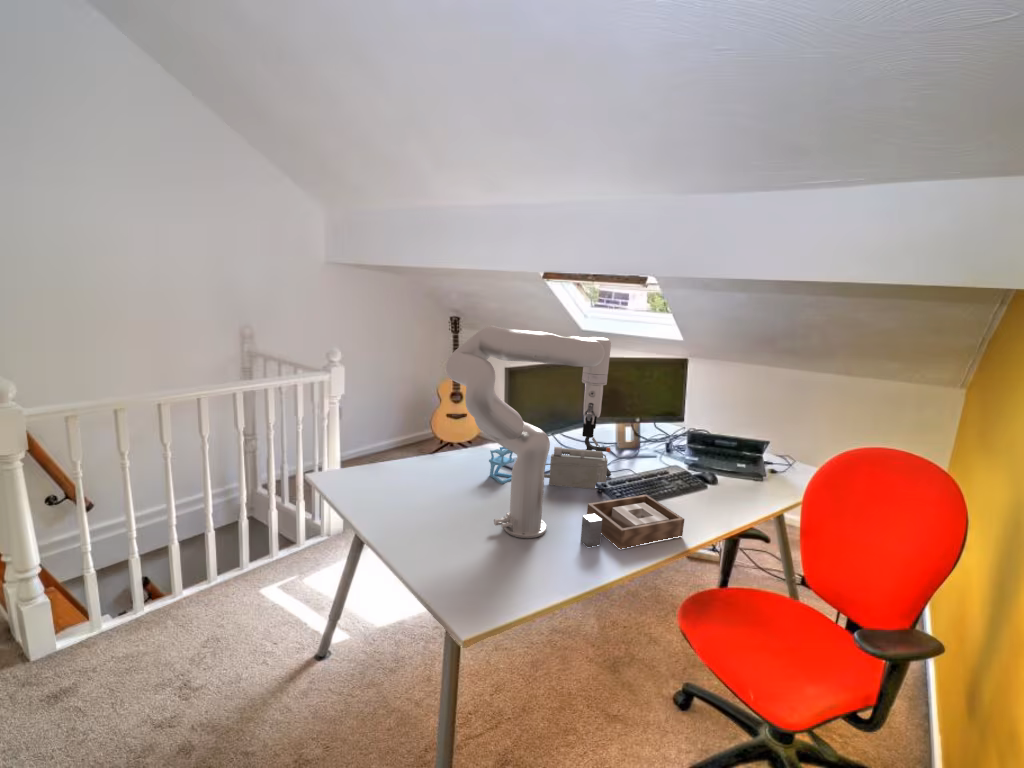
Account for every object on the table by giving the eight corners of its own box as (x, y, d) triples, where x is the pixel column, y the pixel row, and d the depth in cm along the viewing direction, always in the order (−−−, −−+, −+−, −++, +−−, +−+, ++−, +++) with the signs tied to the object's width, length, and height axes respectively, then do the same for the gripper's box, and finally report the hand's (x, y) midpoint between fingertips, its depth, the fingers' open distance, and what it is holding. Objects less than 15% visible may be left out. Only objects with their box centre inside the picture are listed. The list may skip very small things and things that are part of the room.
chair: (498, 472, 206) (500, 441, 203) (516, 478, 200) (517, 447, 198) (485, 477, 200) (486, 446, 197) (502, 484, 195) (503, 452, 192)
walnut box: (619, 550, 153) (621, 530, 152) (586, 521, 169) (587, 503, 168) (682, 537, 162) (684, 519, 161) (644, 511, 178) (646, 494, 177)
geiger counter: (607, 448, 195) (537, 443, 197) (609, 454, 189) (536, 448, 191) (604, 485, 198) (535, 479, 200) (605, 492, 192) (534, 486, 194)
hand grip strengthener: (609, 478, 204) (613, 440, 201) (578, 470, 211) (581, 433, 207) (611, 477, 206) (615, 438, 203) (581, 469, 212) (584, 432, 209)
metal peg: (587, 548, 154) (590, 521, 152) (580, 541, 157) (582, 515, 155) (600, 545, 155) (602, 519, 154) (592, 539, 159) (594, 513, 157)
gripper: (605, 384, 157) (599, 441, 161) (608, 374, 174) (602, 426, 177) (579, 382, 159) (573, 438, 162) (584, 372, 175) (579, 423, 179)
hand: (588, 432), depth 170 cm, fingers open, 9 cm apart
